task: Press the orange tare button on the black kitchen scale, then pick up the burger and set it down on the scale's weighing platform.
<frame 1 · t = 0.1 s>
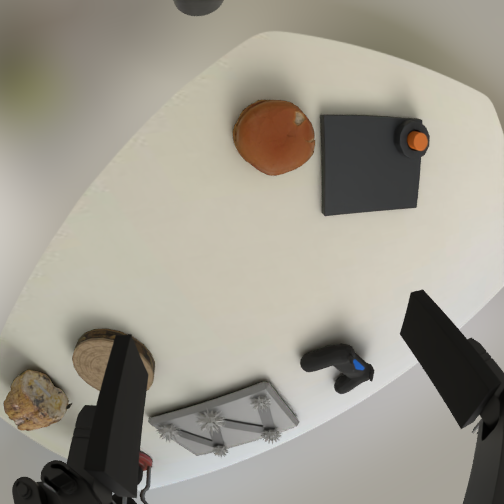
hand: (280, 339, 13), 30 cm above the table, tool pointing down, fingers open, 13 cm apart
hourglass: (126, 456, 71), on the table
decorative plate: (225, 419, 64), on the table
gaming controller: (336, 359, 59), on the table
burger: (271, 133, 38), on the table
scale: (372, 163, 41), on the table
wood log slice: (114, 359, 52), on the table
tare button: (417, 140, 36), point 4 cm above the table, slide at 0.1 cm
petrified wood: (36, 388, 55), on the table
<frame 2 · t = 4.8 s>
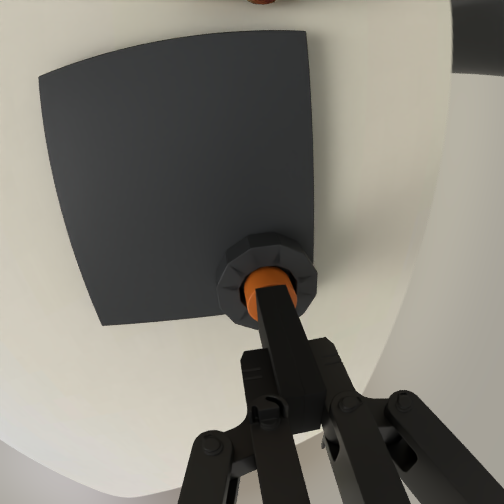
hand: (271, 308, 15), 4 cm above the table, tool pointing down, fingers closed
scale: (182, 186, 17), on the table
tare button: (269, 295, 16), point 3 cm above the table, slide at 0.0 cm, touching gripper
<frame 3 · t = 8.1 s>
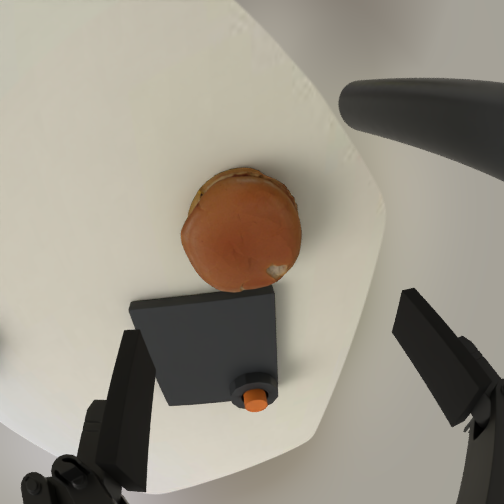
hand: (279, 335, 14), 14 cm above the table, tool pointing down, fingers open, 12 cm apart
burger: (241, 222, 27), on the table
scale: (212, 352, 33), on the table
tare button: (255, 400, 33), point 4 cm above the table, slide at 0.1 cm
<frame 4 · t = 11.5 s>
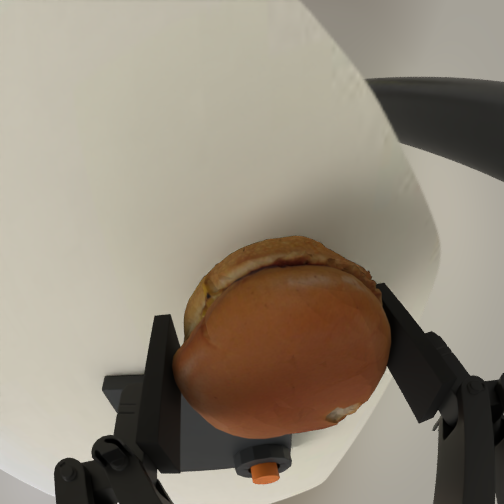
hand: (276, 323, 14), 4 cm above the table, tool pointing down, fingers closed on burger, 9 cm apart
burger: (278, 322, 15), point 4 cm above the table, touching gripper
scale: (211, 425, 24), on the table
tare button: (264, 472, 24), point 4 cm above the table, slide at 0.1 cm
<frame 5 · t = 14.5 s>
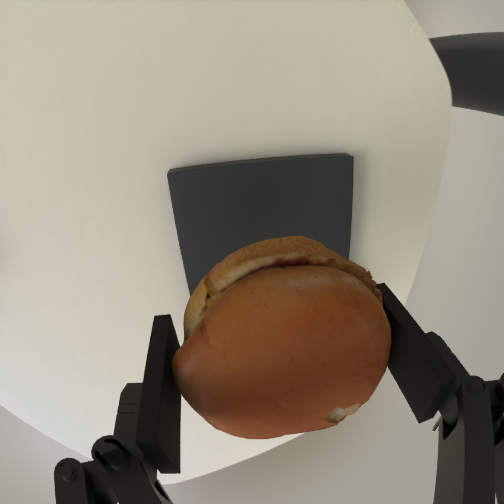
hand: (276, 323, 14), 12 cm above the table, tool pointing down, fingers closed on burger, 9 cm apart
burger: (278, 323, 15), point 12 cm above the table, touching gripper
scale: (267, 251, 26), on the table
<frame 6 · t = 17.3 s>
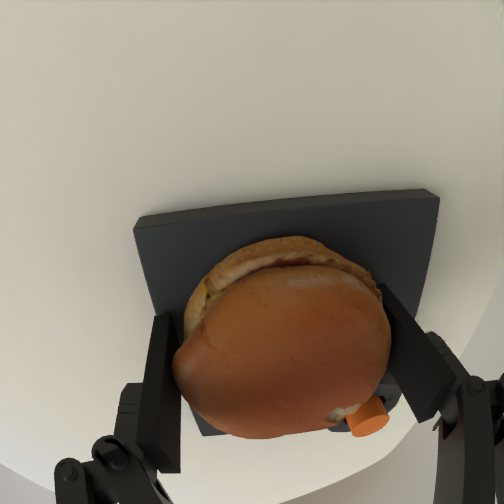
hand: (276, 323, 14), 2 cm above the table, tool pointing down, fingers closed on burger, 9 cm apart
burger: (278, 323, 15), point 1 cm above the table, touching gripper, scale
scale: (297, 334, 17), on the table
tare button: (366, 416, 17), point 4 cm above the table, slide at 0.1 cm
when the fingers open (2 cm above the table, at t = 17.7 s): burger stays where it is, resting on scale.
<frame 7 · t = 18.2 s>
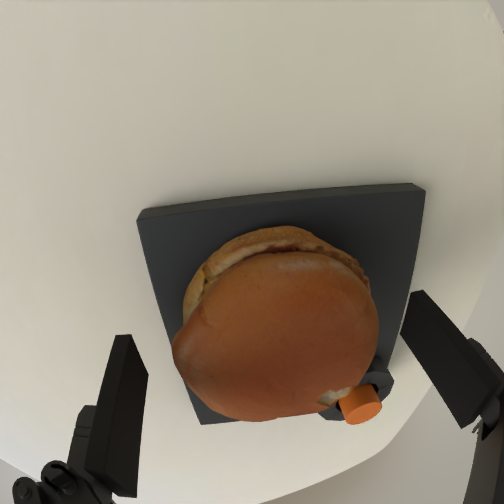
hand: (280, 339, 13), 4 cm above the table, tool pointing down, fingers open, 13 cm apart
burger: (272, 310, 16), point 1 cm above the table, touching scale
scale: (291, 322, 18), on the table
tare button: (360, 404, 18), point 4 cm above the table, slide at 0.1 cm
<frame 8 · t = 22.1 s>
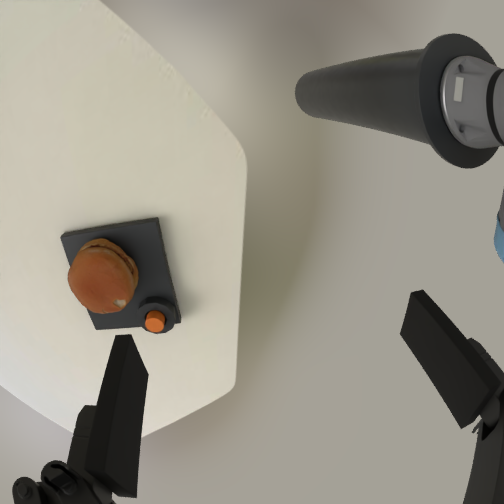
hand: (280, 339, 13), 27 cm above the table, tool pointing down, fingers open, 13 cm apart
burger: (107, 269, 39), point 1 cm above the table, touching scale
scale: (122, 277, 41), on the table
tare button: (155, 321, 41), point 4 cm above the table, slide at 0.1 cm
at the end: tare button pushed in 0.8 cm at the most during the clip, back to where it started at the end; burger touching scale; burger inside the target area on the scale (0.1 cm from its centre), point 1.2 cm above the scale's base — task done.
